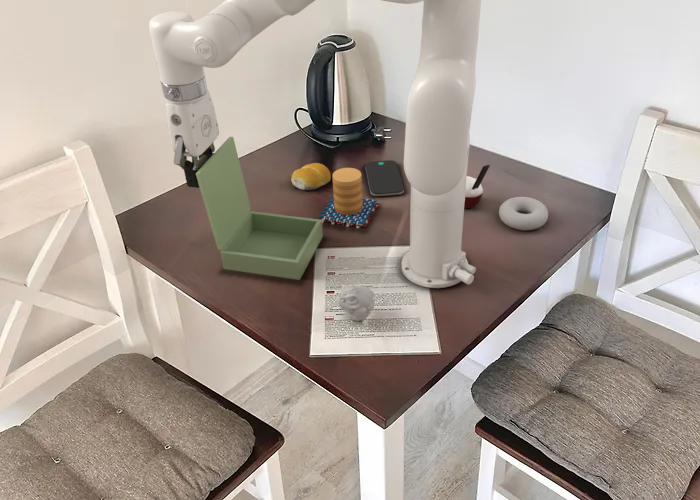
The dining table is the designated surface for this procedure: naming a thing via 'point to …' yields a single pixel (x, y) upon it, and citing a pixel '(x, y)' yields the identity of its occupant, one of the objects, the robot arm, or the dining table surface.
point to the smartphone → (384, 178)
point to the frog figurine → (356, 301)
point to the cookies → (347, 191)
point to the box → (272, 245)
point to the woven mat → (358, 218)
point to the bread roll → (311, 176)
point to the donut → (516, 220)
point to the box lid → (223, 191)
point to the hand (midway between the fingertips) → (202, 178)
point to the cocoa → (474, 189)
